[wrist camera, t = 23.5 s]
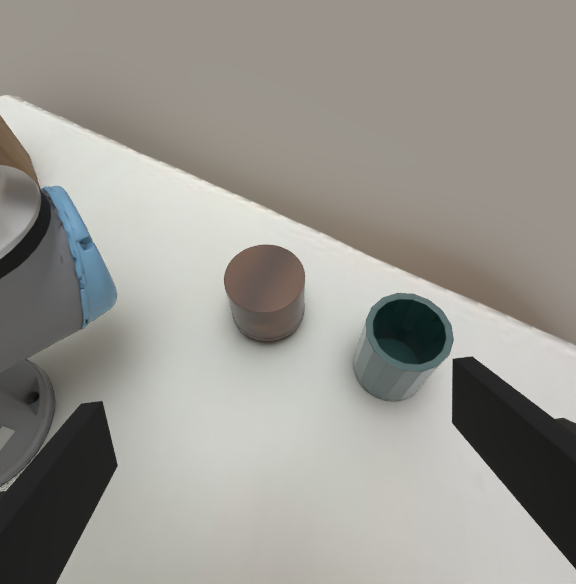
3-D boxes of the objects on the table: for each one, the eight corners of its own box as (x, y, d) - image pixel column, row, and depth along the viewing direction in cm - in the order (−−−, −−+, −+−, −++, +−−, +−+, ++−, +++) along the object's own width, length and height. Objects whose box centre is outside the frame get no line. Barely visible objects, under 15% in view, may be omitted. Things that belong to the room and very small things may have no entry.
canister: (342, 381, 46) (353, 348, 37) (367, 324, 49) (382, 281, 41) (411, 413, 44) (439, 385, 35) (432, 351, 47) (462, 312, 39)
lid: (221, 328, 49) (207, 293, 42) (255, 275, 53) (248, 233, 46) (284, 358, 47) (282, 326, 40) (315, 300, 51) (318, 260, 44)
